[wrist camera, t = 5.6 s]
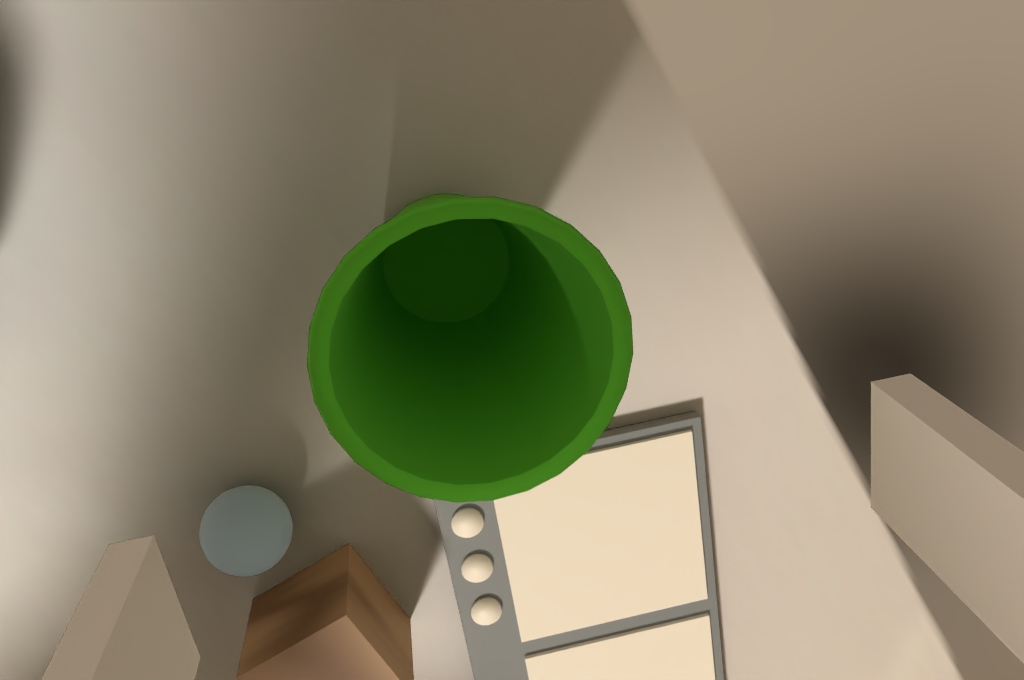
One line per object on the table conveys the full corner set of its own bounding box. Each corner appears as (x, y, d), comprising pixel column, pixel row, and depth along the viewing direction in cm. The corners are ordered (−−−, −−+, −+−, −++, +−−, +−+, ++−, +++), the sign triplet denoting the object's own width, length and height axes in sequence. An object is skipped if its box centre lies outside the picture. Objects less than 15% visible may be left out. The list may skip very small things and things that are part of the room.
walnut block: (317, 671, 40) (310, 756, 35) (253, 597, 38) (236, 678, 33) (410, 618, 40) (414, 697, 35) (349, 541, 38) (346, 615, 33)
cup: (474, 92, 32) (521, 127, 22) (599, 282, 35) (691, 391, 25) (278, 231, 32) (234, 329, 22) (419, 405, 36) (436, 559, 26)
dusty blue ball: (221, 551, 37) (206, 604, 33) (197, 479, 35) (178, 527, 32) (305, 533, 37) (298, 584, 34) (284, 461, 36) (274, 506, 32)
